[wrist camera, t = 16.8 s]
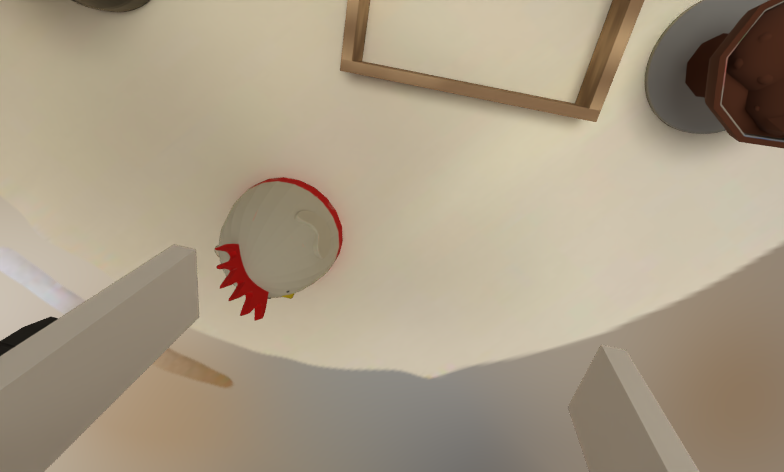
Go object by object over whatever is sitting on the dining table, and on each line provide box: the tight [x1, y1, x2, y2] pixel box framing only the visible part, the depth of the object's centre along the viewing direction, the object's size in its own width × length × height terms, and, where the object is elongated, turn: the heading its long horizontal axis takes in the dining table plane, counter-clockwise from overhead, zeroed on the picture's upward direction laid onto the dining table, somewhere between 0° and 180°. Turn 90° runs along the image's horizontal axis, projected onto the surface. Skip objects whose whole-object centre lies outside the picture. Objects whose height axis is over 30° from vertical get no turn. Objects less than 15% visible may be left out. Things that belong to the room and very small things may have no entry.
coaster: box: [645, 0, 769, 134], centre depth 35 cm, size 12×12×1 cm
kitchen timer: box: [215, 177, 343, 321], centre depth 42 cm, size 14×14×15 cm
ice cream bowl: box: [685, 0, 784, 148], centre depth 28 cm, size 11×11×15 cm
